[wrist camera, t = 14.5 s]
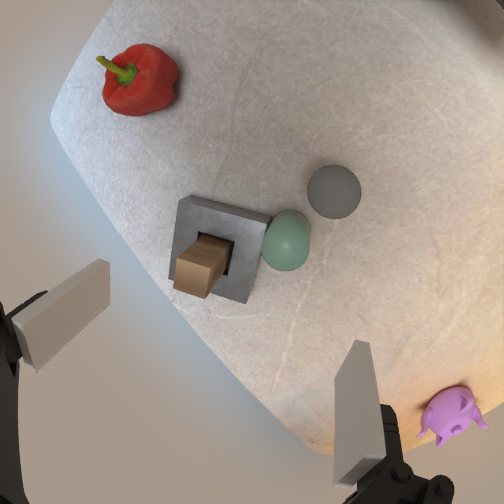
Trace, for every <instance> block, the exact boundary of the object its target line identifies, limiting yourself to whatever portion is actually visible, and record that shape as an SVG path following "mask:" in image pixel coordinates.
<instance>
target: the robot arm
mask: <svg viewBox="0 0 504 504" xmlns="http://www.w3.org/2000/svg"><path fill="white" fill-rule="evenodd" d="M496 1H497V3H498V4H499V5H500V6H501V7H502V8H503V9H504V0H496ZM109 305H110V262H107V261H104V260H102V259H97V260H96V261H94V262H93V263H91V264H90V265H88V266H86V267H85V268H83V269H82V270H80V271H79V272H77V273H76V274H74V275H73V276H71V277H70V278H68V279H66V280H65V281H63V282H62V283H60V284H59V285H58V286H56V287H55V288H53V289H52V290H50V291H49V292H48V291H47V290H46V291H43V292H40V293H37V294H36V295H34V296H33V297H31V298H30V300H27V301H25V302H24V304H23V303H22V304H21V305H20V306H18V307H17V308H15V309H14V310H13V311H11V312H10V313H8V314H7V315H6V316H5V313H4V310H3V305H2V303H1V302H0V504H29V502H28V500H27V498H26V496H25V493H24V488H23V482H22V474H21V464H20V453H19V438H18V383H19V367H20V365H19V359H20V358H21V357H22V356H23V359H24V362H25V365H26V366H27V367H28V368H30V369H31V370H33V371H34V372H35V373H37V372H38V371H39V370H40V369H41V368H42V367H43V366H44V365H45V364H46V363H47V362H48V361H49V360H50V359H51V358H52V357H54V356H55V355H56V354H57V353H58V352H59V351H60V350H61V349H62V348H63V347H64V346H65V345H66V344H67V343H68V342H69V341H70V340H72V339H73V338H74V337H75V336H76V335H77V334H78V333H79V332H80V331H81V330H82V329H84V327H86V326H87V325H88V324H89V323H90V322H91V321H92V320H93V319H94V318H96V317H97V316H98V315H99V314H100V313H101V312H102V311H103V310H105V309H106V308H107V307H108V306H109ZM397 425H398V422H397V417H396V414H395V412H394V410H393V409H392V407H391V406H390V405H384V404H380V401H379V395H378V388H377V382H376V376H375V371H374V365H373V360H372V354H371V349H370V344H369V343H367V342H363V341H359V340H355V341H354V343H353V345H352V347H351V349H350V351H349V353H348V355H347V357H346V358H345V360H344V362H343V364H342V366H341V368H340V369H339V371H338V373H337V375H336V377H335V438H334V468H333V486H334V487H344V488H351V487H352V486H353V485H354V484H356V483H357V491H355V492H354V493H353V494H352V495H350V496H349V497H348V498H346V501H345V502H344V503H342V504H451V503H452V499H453V495H454V485H453V482H452V481H451V480H450V479H449V478H448V477H447V476H444V475H437V476H435V477H434V478H432V479H431V480H428V479H425V478H422V477H419V476H416V475H414V473H413V471H412V469H411V467H410V466H409V465H408V464H407V463H405V462H404V461H403V454H402V447H401V441H400V434H399V428H398V426H397Z"/></svg>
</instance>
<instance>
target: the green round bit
mask: <svg viewBox="0 0 504 504" xmlns="http://www.w3.org/2000/svg"><path fill="white" fill-rule="evenodd" d="M309 245H310V224H309V222H308V220H307V218H306V217H305V216H304V215H303V214H302V213H300V212H298V211H295V210H285V211H282V212H280V213H278V214H277V215H276V216H275V217H274V219H273V220H272V222H271V224H270V226H269V228H268V230H267V232H266V234H265V235H264V237H263V239H262V243H261V252H262V256H263V258H264V260H265V261H266V262H267V263H268V264H269V265H270V266H271V267H273V268H275V269H277V270H280V271H292V270H295V269H297V268H299V267H300V266H302V265H303V264H304V262H305V261H306V259H307V257H308V254H309Z"/></svg>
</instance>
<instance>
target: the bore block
mask: <svg viewBox="0 0 504 504" xmlns="http://www.w3.org/2000/svg"><path fill="white" fill-rule="evenodd" d="M270 219H271V217H270V216H267V215H263V214H260V213H256V212H252V211H249V210H245V209H241V208H238V207H234V206H230V205H227V204H223V203H219V202H215V201H211V200H208V199H204V198H200V197H196V196H192V195H189V196H187V197H185V198H183V199H181V200H179V204H178V210H177V216H176V223H175V230H174V237H173V245H172V252H171V260H170V269H169V278H168V279H170V280H173V281H174V277H175V269H176V261H177V257H178V256H180V255H181V254H182V253H183V252H184V251H185V250H186V249H187V248H189V247H190V246H191V245H192V244H193V243H194V242H195V241H196V240H198V239H199V238H200V237H201V236H202V235H203V234H204V233H207V234H211V235H214V236H218V237H221V238H225V239H228V240H231V241H235V245H234V249H233V254H232V258H231V263H230V264H229V265H228V266H227V268H226V269H225V271H224V272H223V273H222V275H221V276H220V278H219V279H218V281H217V282H216V284H215V285H214V287H213V288H212V290H211V291H210V292H209V293H212V294H215V295H218V296H222V297H225V298H228V299H231V300H234V301H237V302H241V303H244V304H246V303H247V301H248V298H249V296H250V294H251V291H252V288H253V284H254V280H255V276H256V273H257V269H258V265H259V261H260V257H261V254H262V252H261V243H262V239H263V237H264V235H265V234H266V232H267V230H268V227H269V223H270Z"/></svg>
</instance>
